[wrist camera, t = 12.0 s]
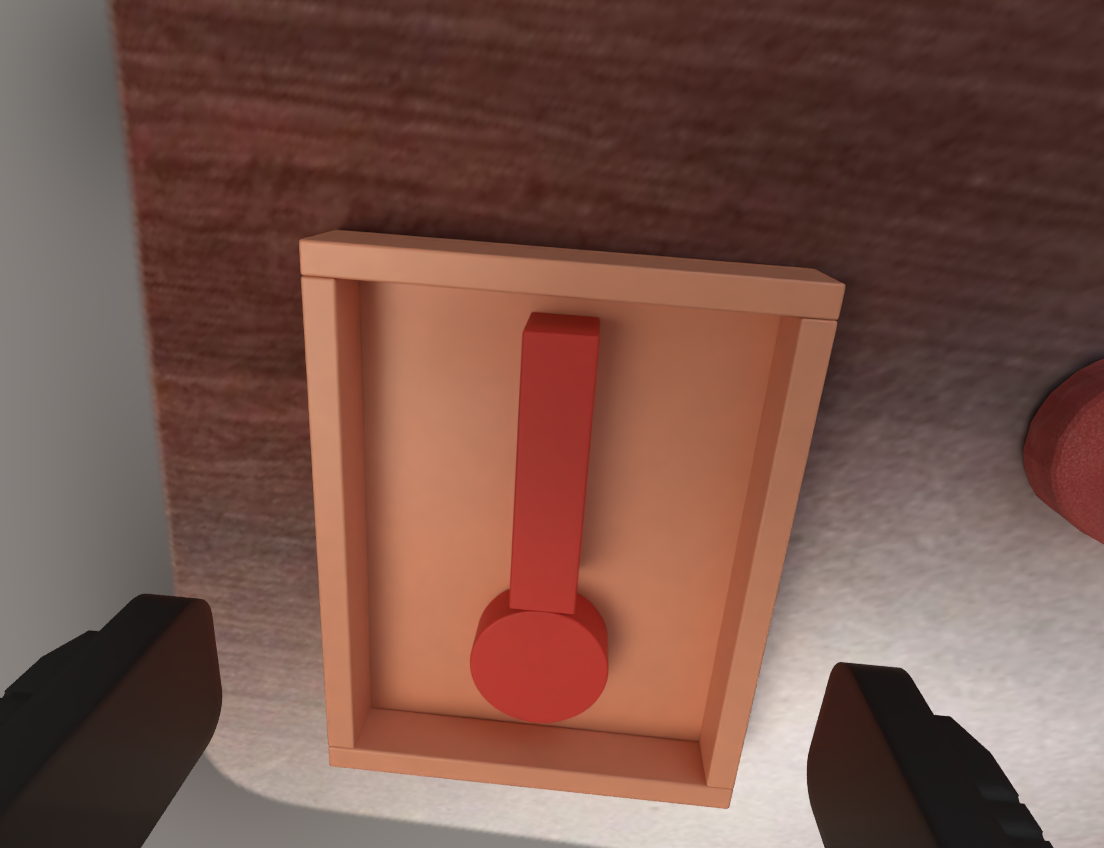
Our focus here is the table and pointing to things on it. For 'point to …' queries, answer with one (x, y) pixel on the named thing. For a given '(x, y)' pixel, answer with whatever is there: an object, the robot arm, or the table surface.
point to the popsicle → (1071, 450)
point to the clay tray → (610, 506)
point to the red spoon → (547, 538)
